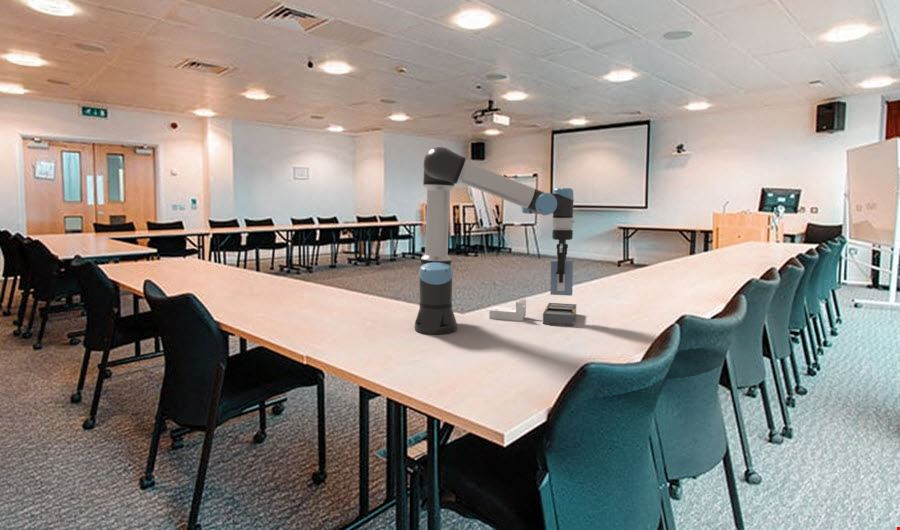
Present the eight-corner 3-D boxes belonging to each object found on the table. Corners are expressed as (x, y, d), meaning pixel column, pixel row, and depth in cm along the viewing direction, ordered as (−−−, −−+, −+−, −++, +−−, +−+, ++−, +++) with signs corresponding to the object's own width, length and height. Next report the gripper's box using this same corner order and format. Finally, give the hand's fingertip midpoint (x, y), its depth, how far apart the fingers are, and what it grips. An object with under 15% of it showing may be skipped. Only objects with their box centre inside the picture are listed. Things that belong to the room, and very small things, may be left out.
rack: (542, 323, 202) (543, 312, 201) (548, 312, 222) (548, 302, 221) (573, 326, 198) (573, 314, 198) (576, 314, 219) (576, 303, 218)
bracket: (525, 317, 213) (526, 299, 212) (522, 321, 206) (522, 302, 205) (493, 315, 217) (494, 297, 216) (489, 319, 210) (489, 300, 209)
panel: (550, 294, 206) (551, 261, 204) (551, 293, 209) (551, 260, 207) (571, 295, 204) (572, 261, 202) (572, 294, 207) (573, 260, 205)
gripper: (571, 230, 194) (569, 294, 197) (574, 227, 210) (572, 286, 213) (550, 230, 196) (549, 293, 199) (554, 227, 212) (553, 285, 215)
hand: (561, 289), depth 206 cm, fingers closed on panel, 3 cm apart
